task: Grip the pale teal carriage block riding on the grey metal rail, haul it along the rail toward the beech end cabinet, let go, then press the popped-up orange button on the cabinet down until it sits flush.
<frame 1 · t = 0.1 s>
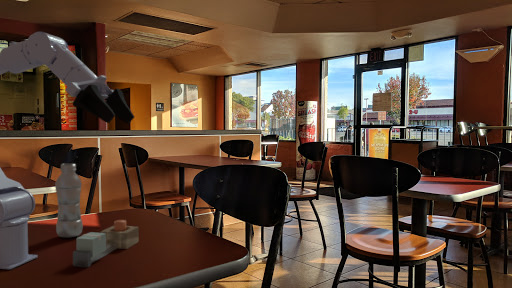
hand: (121, 119, 79), 32 cm above the table, tool tilted 50°, fingers open, 7 cm apart
rail: (98, 256, 89), on the table
plastic bottle: (69, 237, 105), on the table
cabinet: (120, 244, 99), on the table
carriage: (91, 244, 87), point 4 cm above the table, slide at 0.0 cm
button: (120, 229, 99), point 4 cm above the table, slide at 0.0 cm
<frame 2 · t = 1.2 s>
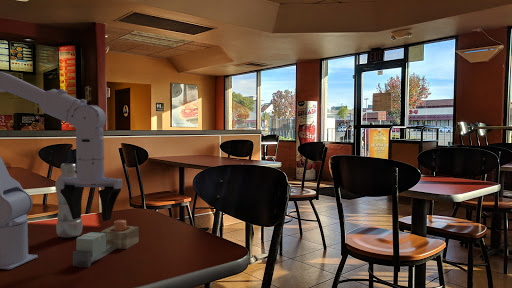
hand: (91, 219, 86), 9 cm above the table, tool pointing down, fingers open, 7 cm apart
nothing on the table moved.
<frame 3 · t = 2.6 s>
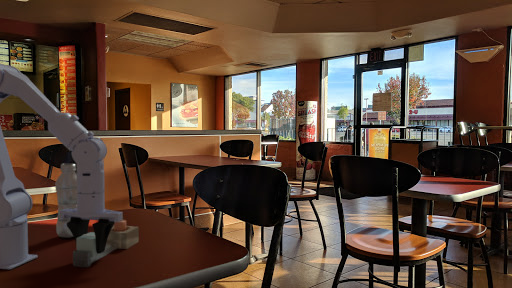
hand: (91, 251, 87), 2 cm above the table, tool pointing down, fingers closed on carriage, 4 cm apart
carriage: (91, 244, 87), point 4 cm above the table, slide at 0.0 cm, touching gripper
everything else where it was.
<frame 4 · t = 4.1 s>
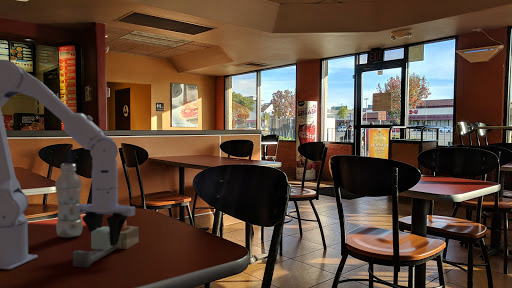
hand: (105, 244, 92), 2 cm above the table, tool pointing down, fingers closed on carriage, 4 cm apart
carriage: (105, 237, 92), point 4 cm above the table, slide at 5.3 cm, touching gripper
everything else where it was.
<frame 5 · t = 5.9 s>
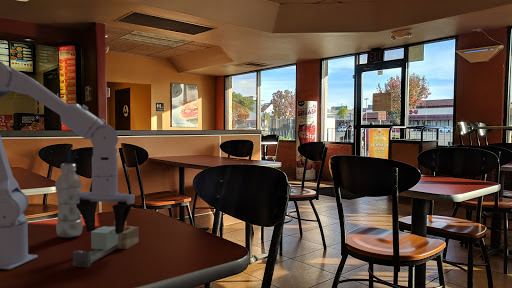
hand: (105, 231, 92), 5 cm above the table, tool pointing down, fingers open, 7 cm apart
carriage: (105, 237, 92), point 4 cm above the table, slide at 5.3 cm
everything else where it was.
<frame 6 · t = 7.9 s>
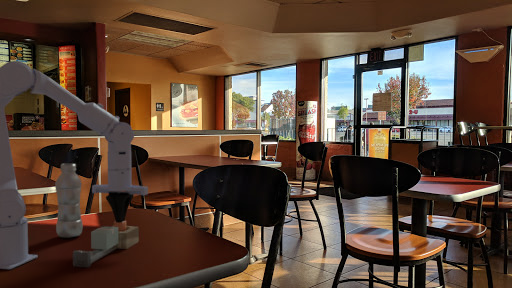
hand: (120, 221, 98), 6 cm above the table, tool pointing down, fingers closed, pressing on button
button: (120, 229, 99), point 4 cm above the table, slide at -0.1 cm, touching gripper
everything else where it was.
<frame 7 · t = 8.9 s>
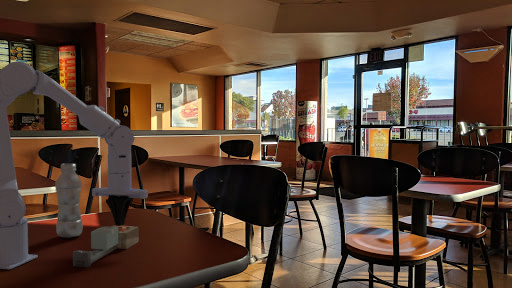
hand: (119, 225, 98), 5 cm above the table, tool pointing down, fingers closed
button: (120, 234, 99), point 2 cm above the table, slide at -1.5 cm
everything else where it was.
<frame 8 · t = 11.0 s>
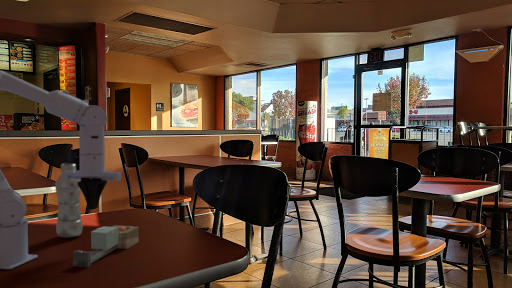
hand: (92, 208, 95), 10 cm above the table, tool pointing down, fingers closed
nothing on the table moved.
at the end: carriage slide at 5.3 cm; button slide at -1.5 cm; the gripper is holding nothing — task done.
